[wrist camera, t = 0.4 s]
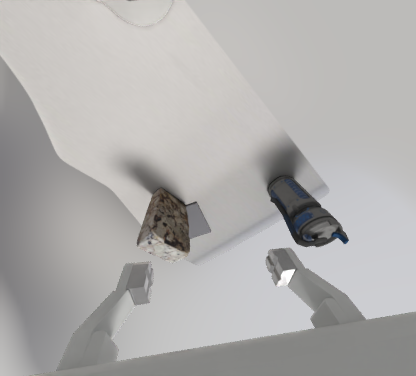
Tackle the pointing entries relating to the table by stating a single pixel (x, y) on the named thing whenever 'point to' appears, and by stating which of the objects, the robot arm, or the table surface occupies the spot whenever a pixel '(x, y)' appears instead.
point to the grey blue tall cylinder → (304, 214)
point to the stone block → (165, 228)
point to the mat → (196, 221)
